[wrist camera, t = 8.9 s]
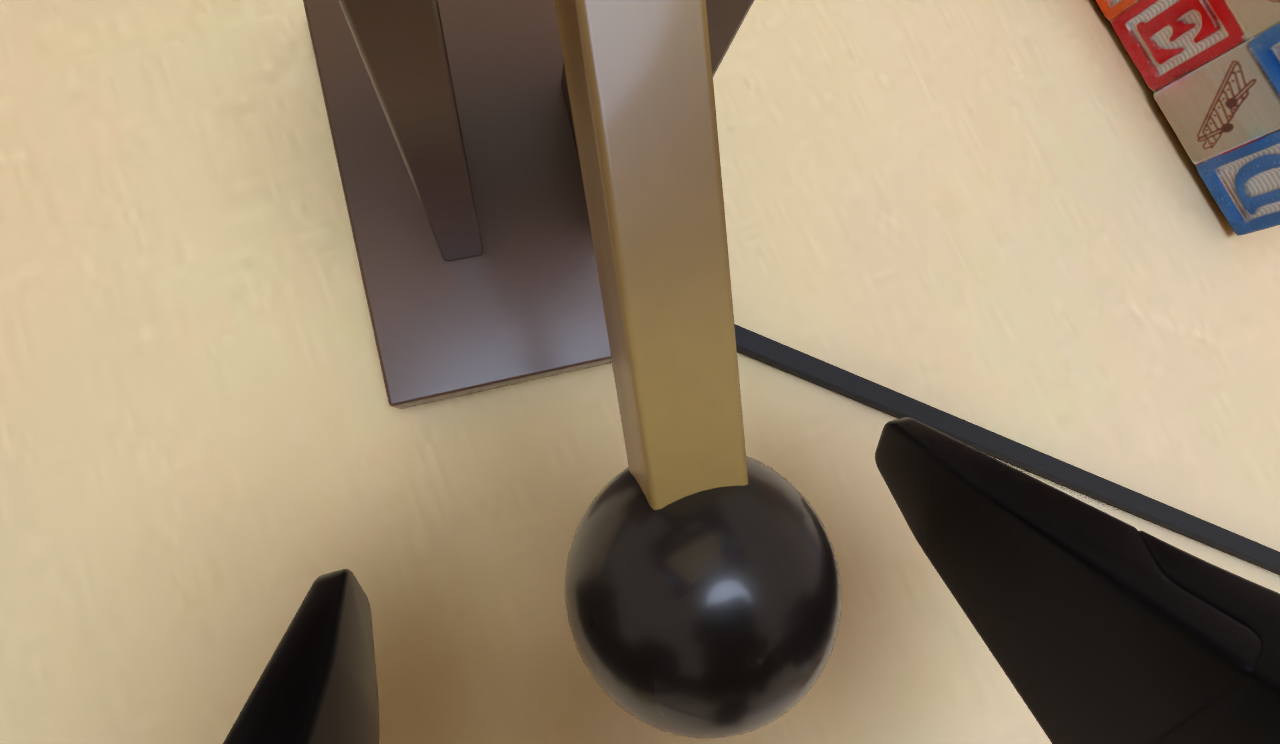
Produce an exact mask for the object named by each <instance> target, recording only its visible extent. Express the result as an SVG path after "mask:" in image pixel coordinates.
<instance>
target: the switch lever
mask: <svg viewBox="0 0 1280 744" xmlns="http://www.w3.org/2000/svg"><path fill="white" fill-rule="evenodd" d="M554 4H555V10H556V16H557V22H558V29H559V35H560V41H561V47H562V54H563V60H564V66H565V72H566V78H567V85H568V91H569V97H570V103H571V110H572V116H573V122H574V128H575V134H576V141H577V147H578V153H579V159H580V166H581V172H582V178H583V184H584V190H585V197H586V203H587V209H588V215H589V222H590V228H591V234H592V240H593V246H594V253H595V259H596V265H597V271H598V278H599V284H600V290H601V296H602V303H603V309H604V315H605V321H606V327H607V334H608V340H609V346H610V352H611V359H612V365H613V371H614V377H615V383H616V390H617V396H618V402H619V408H620V415H621V421H622V427H623V433H624V439H625V446H626V452H627V458H628V464H629V467H628V468H626V469H625V470H623V471H622V472H621V473H620V474H618V475H617V476H616V477H614V478H613V479H612V480H611V481H610V482H609V483H608V484H607V485H606V486H605V487H604V488H603V489H602V490H601V491H600V493H599V494H598V495H597V496H596V497H595V499H594V500H593V501H592V503H591V504H590V506H589V507H588V509H587V510H586V512H585V514H584V515H583V517H582V519H581V521H580V523H579V525H578V527H577V529H576V531H575V535H574V538H573V541H572V544H571V547H570V551H569V554H568V559H567V565H566V574H565V601H566V609H567V615H568V622H569V626H570V629H571V632H572V636H573V639H574V641H575V644H576V647H577V650H578V652H579V654H580V656H581V658H582V660H583V662H584V663H585V665H586V667H587V669H588V670H589V672H590V674H591V675H592V676H593V678H594V679H595V680H596V682H597V683H598V685H599V686H600V687H601V688H602V689H603V690H604V691H605V693H606V694H607V695H608V696H609V697H610V698H611V699H612V700H613V701H614V702H615V703H616V704H618V705H619V706H620V707H621V708H623V709H624V710H625V711H627V712H628V713H629V714H631V715H632V716H634V717H635V718H637V719H638V720H640V721H642V722H644V723H646V724H648V725H651V726H653V727H655V728H657V729H659V730H661V731H664V732H667V733H671V734H674V735H679V736H684V737H690V738H697V739H715V738H724V737H732V736H737V735H741V734H745V733H748V732H751V731H754V730H756V729H759V728H761V727H763V726H765V725H767V724H769V723H771V722H773V721H774V720H776V719H777V718H779V717H780V716H782V715H783V714H785V713H786V712H787V711H789V710H790V709H791V708H792V707H794V706H795V705H796V704H797V703H798V702H799V701H800V700H801V699H802V698H803V697H804V696H805V695H806V693H807V692H808V691H809V690H810V689H811V687H812V686H813V684H814V683H815V682H816V680H817V679H818V677H819V675H820V673H821V672H822V670H823V668H824V666H825V664H826V663H827V661H828V658H829V656H830V654H831V651H832V649H833V646H834V642H835V639H836V635H837V631H838V626H839V620H840V614H841V584H840V575H839V570H838V564H837V560H836V556H835V553H834V549H833V547H832V544H831V542H830V539H829V537H828V534H827V532H826V530H825V528H824V525H823V524H822V522H821V520H820V519H819V517H818V516H817V514H816V513H815V511H814V510H813V508H812V506H811V505H810V503H809V502H808V501H807V500H806V499H805V498H804V497H803V496H802V495H801V493H800V492H799V491H798V490H797V489H796V488H795V487H794V486H793V485H792V484H791V483H790V482H789V481H787V480H786V479H785V478H784V477H782V476H781V475H780V474H778V473H777V472H776V471H774V470H773V469H772V468H770V467H768V466H766V465H765V464H763V463H761V462H759V461H757V460H755V459H753V458H750V457H748V456H746V452H745V441H744V429H743V418H742V407H741V395H740V384H739V372H738V361H737V350H736V338H735V327H734V315H733V304H732V293H731V281H730V270H729V258H728V247H727V236H726V224H725V213H724V201H723V190H722V179H721V167H720V156H719V144H718V133H717V122H716V110H715V99H714V87H713V76H712V65H711V53H710V42H709V30H708V19H707V8H706V0H554Z"/></svg>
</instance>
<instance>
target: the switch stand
mask: <svg viewBox="0 0 1280 744" xmlns="http://www.w3.org/2000/svg"><path fill="white" fill-rule="evenodd" d="M753 2H754V0H706V8H707V19H708V30H709V42H710V53H711V65H712V76H714V74H715V72H716V70H717V69H718V67H719V65H720V63H721V61H722V59H723V57H724V56H725V54H726V52H727V50H728V48H729V46H730V44H731V43H732V41H733V39H734V37H735V35H736V33H737V31H738V29H739V28H740V26H741V24H742V22H743V20H744V18H745V16H746V15H747V13H748V11H749V9H750V7H751V5H752V3H753ZM303 3H304V7H305V12H306V17H307V21H308V26H309V31H310V35H311V40H312V45H313V49H314V54H315V59H316V64H317V68H318V73H319V78H320V82H321V87H322V92H323V96H324V101H325V106H326V111H327V115H328V120H329V125H330V129H331V134H332V139H333V143H334V148H335V153H336V157H337V162H338V167H339V172H340V176H341V181H342V186H343V190H344V195H345V200H346V204H347V209H348V214H349V219H350V223H351V228H352V233H353V237H354V242H355V247H356V251H357V256H358V261H359V265H360V270H361V275H362V280H363V284H364V289H365V294H366V298H367V303H368V308H369V312H370V317H371V322H372V326H373V331H374V336H375V341H376V345H377V350H378V355H379V359H380V364H381V369H382V373H383V378H384V383H385V388H386V392H387V397H388V402H389V404H390V406H393V407H396V408H401V409H402V408H406V407H411V406H415V405H420V404H425V403H429V402H434V401H438V400H443V399H447V398H452V397H456V396H461V395H465V394H470V393H475V392H479V391H484V390H488V389H493V388H497V387H502V386H506V385H511V384H515V383H520V382H525V381H529V380H534V379H538V378H543V377H547V376H552V375H556V374H561V373H565V372H570V371H574V370H579V369H584V368H588V367H593V366H597V365H602V364H606V363H611V362H612V359H611V352H610V346H609V340H608V334H607V327H606V321H605V315H604V309H603V303H602V296H601V290H600V284H599V278H598V271H597V265H596V259H595V253H594V246H593V240H592V234H591V228H590V222H589V215H588V209H587V203H586V197H585V190H584V184H583V178H582V172H581V166H580V159H579V153H578V147H577V141H576V134H575V128H574V122H573V116H572V110H571V103H570V97H569V91H568V85H567V78H566V72H565V66H564V60H563V54H562V47H561V41H560V35H559V29H558V22H557V16H556V10H555V4H554V0H303Z"/></svg>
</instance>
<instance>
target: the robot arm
mask: <svg viewBox="0 0 1280 744" xmlns="http://www.w3.org/2000/svg"><path fill="white" fill-rule="evenodd" d="M875 460H876V464H877V467H878V469H879V471H880V473H881V475H882V477H883V478H884V480H885V482H886V484H887V486H888V488H889V490H890V492H891V494H892V495H893V497H894V499H895V501H896V503H897V505H898V507H899V509H900V510H901V512H902V514H903V516H904V518H905V520H906V522H907V524H908V526H909V527H910V529H911V531H912V533H913V535H914V536H915V538H916V540H917V541H918V543H919V545H920V546H921V548H922V549H923V551H924V553H925V554H926V556H927V557H928V559H929V560H930V562H931V563H932V565H933V566H934V568H935V569H936V571H937V572H938V574H939V575H940V576H941V578H942V579H943V581H944V582H945V584H946V585H947V587H948V588H949V590H950V591H951V593H952V594H953V596H954V597H955V599H956V600H957V602H958V603H959V605H960V606H961V608H962V609H963V611H964V612H965V614H966V615H967V617H968V618H969V620H970V621H971V623H972V624H973V626H974V627H975V629H976V630H977V632H978V633H979V635H980V636H981V638H982V639H983V641H984V642H985V644H986V645H987V647H988V648H989V650H990V651H991V653H992V654H993V656H994V657H995V659H996V660H997V662H998V663H999V665H1000V666H1001V668H1002V669H1003V671H1004V672H1005V674H1006V675H1007V677H1008V678H1009V680H1010V681H1011V683H1012V684H1013V686H1014V687H1015V689H1016V690H1017V692H1018V693H1019V695H1020V696H1021V697H1022V699H1023V700H1024V702H1025V703H1026V705H1027V706H1028V708H1029V709H1030V711H1031V712H1032V714H1033V715H1034V717H1035V718H1036V720H1037V721H1038V723H1039V724H1040V726H1041V727H1042V729H1043V730H1044V732H1045V733H1046V735H1047V736H1048V738H1049V739H1050V741H1051V742H1052V744H1280V594H1279V593H1277V592H1275V591H1272V590H1270V589H1267V588H1265V587H1263V586H1260V585H1258V584H1256V583H1253V582H1251V581H1249V580H1246V579H1244V578H1242V577H1240V576H1237V575H1235V574H1233V573H1231V572H1228V571H1226V570H1224V569H1221V568H1219V567H1217V566H1215V565H1212V564H1210V563H1208V562H1206V561H1204V560H1202V559H1199V558H1197V557H1195V556H1193V555H1191V554H1189V553H1187V552H1185V551H1183V550H1180V549H1178V548H1176V547H1174V546H1172V545H1170V544H1168V543H1166V542H1164V541H1162V540H1160V539H1158V538H1156V537H1154V536H1151V535H1149V534H1147V533H1145V532H1143V531H1138V530H1137V529H1136V528H1135V527H1133V526H1131V525H1129V524H1127V523H1125V522H1123V521H1121V520H1119V519H1117V518H1115V517H1113V516H1110V515H1108V514H1106V513H1104V512H1102V511H1100V510H1098V509H1096V508H1094V507H1092V506H1090V505H1088V504H1086V503H1084V502H1082V501H1080V500H1078V499H1076V498H1074V497H1072V496H1070V495H1068V494H1066V493H1064V492H1062V491H1060V490H1058V489H1056V488H1054V487H1051V486H1049V485H1047V484H1045V483H1043V482H1041V481H1039V480H1037V479H1035V478H1033V477H1031V476H1029V475H1027V474H1025V473H1023V472H1021V471H1019V470H1017V469H1015V468H1013V467H1011V466H1009V465H1007V464H1005V463H1003V462H1001V461H999V460H997V459H995V458H992V457H990V456H988V455H986V454H984V453H982V452H980V451H978V450H976V449H974V448H972V447H970V446H968V445H966V444H964V443H962V442H960V441H958V440H956V439H954V438H952V437H950V436H948V435H946V434H944V433H942V432H940V431H938V430H936V429H934V428H931V427H929V426H927V425H925V424H923V423H921V422H919V421H917V420H915V419H913V418H908V417H906V418H901V419H897V420H893V421H890V422H888V423H887V424H885V426H884V428H883V431H882V434H881V437H880V440H879V443H878V446H877V449H876V452H875ZM223 744H379V701H378V689H377V676H376V664H375V652H374V640H373V628H372V615H371V608H370V604H369V601H368V598H367V596H366V594H365V593H364V591H363V589H362V588H361V586H360V584H359V583H358V581H357V579H356V578H355V576H354V575H353V573H352V572H351V571H350V570H348V569H342V570H339V571H335V572H331V573H328V574H324V575H321V576H319V577H318V578H317V579H316V580H315V581H314V583H313V585H312V586H311V588H310V590H309V592H308V594H307V595H306V597H305V599H304V601H303V602H302V604H301V606H300V608H299V609H298V611H297V613H296V615H295V617H294V618H293V620H292V622H291V624H290V625H289V627H288V629H287V631H286V633H285V634H284V636H283V638H282V640H281V641H280V643H279V645H278V647H277V649H276V650H275V652H274V654H273V656H272V657H271V659H270V661H269V663H268V665H267V666H266V668H265V670H264V672H263V673H262V675H261V677H260V679H259V680H258V682H257V684H256V686H255V688H254V689H253V691H252V693H251V695H250V696H249V698H248V700H247V702H246V704H245V705H244V707H243V709H242V711H241V712H240V714H239V716H238V718H237V720H236V721H235V723H234V725H233V727H232V728H231V730H230V732H229V734H228V736H227V737H226V739H225V741H224V743H223Z"/></svg>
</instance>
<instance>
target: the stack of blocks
mask: <svg viewBox="0 0 1280 744" xmlns="http://www.w3.org/2000/svg"><path fill="white" fill-rule="evenodd" d="M1096 1H1097V3H1098V5H1099V7H1100V9H1101V10H1102V12H1103V14H1104V15H1105V17H1106V18H1107V19H1108V20H1109V21H1110V22H1111V23H1112V26H1113V29H1114V30H1115V32H1116V34H1117V35H1118V37H1119V39H1120V41H1121V42H1122V44H1123V46H1124V47H1125V49H1126V51H1127V52H1128V54H1129V56H1130V57H1131V59H1132V61H1133V62H1134V64H1135V65H1136V67H1137V69H1138V70H1139V72H1140V74H1141V75H1142V77H1143V78H1144V80H1145V82H1146V84H1147V86H1148V87H1149V88H1150V89H1151V90H1152V91H1154V96H1153V97H1154V99H1155V100H1156V102H1157V104H1158V105H1159V107H1160V108H1161V110H1162V112H1163V113H1164V115H1165V117H1166V118H1167V120H1168V122H1169V123H1170V125H1171V127H1172V128H1173V130H1174V132H1175V133H1176V135H1177V137H1178V139H1179V140H1180V142H1181V144H1182V146H1183V147H1184V149H1185V151H1186V152H1187V154H1188V156H1189V157H1190V159H1191V161H1192V162H1193V163H1194V164H1195V165H1196V167H1197V171H1198V174H1199V175H1200V177H1201V178H1202V180H1203V182H1204V183H1205V185H1206V186H1207V188H1208V190H1209V192H1210V193H1211V195H1212V197H1213V198H1214V200H1215V202H1216V203H1217V205H1218V206H1219V208H1220V209H1221V211H1222V213H1223V214H1224V216H1225V217H1226V219H1227V221H1228V223H1229V224H1230V226H1231V228H1232V229H1233V231H1234V232H1235V233H1236V234H1237V235H1243V234H1248V233H1252V232H1255V231H1259V230H1263V229H1266V228H1270V227H1273V226H1277V225H1280V0H1096Z"/></svg>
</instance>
